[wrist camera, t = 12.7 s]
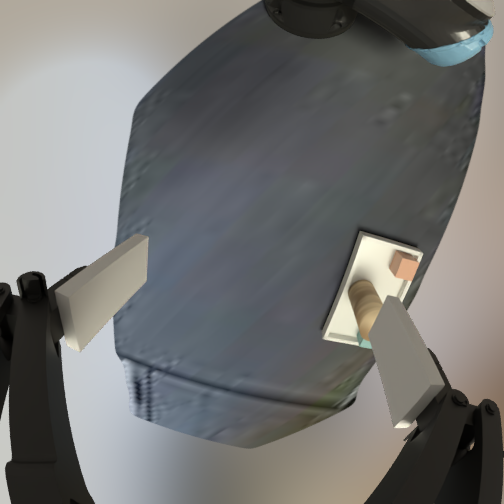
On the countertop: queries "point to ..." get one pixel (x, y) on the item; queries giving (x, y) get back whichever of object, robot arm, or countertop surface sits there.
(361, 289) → the turned wooden pepper mill
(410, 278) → the terracotta block
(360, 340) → the teal block
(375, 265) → the parts tray
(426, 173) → the countertop surface
